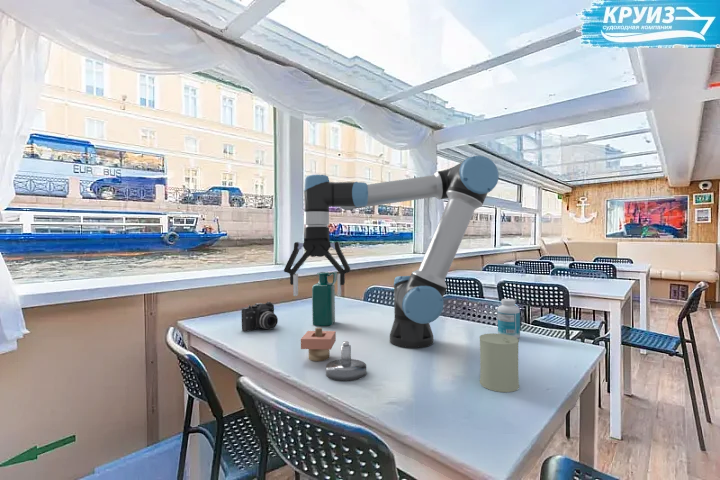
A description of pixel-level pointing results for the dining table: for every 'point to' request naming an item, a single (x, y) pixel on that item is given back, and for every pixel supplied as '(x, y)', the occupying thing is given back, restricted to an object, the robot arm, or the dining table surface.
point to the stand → (319, 350)
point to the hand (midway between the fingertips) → (317, 295)
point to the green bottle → (324, 300)
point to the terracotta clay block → (318, 340)
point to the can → (499, 362)
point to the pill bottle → (509, 318)
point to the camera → (259, 317)
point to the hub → (346, 366)
